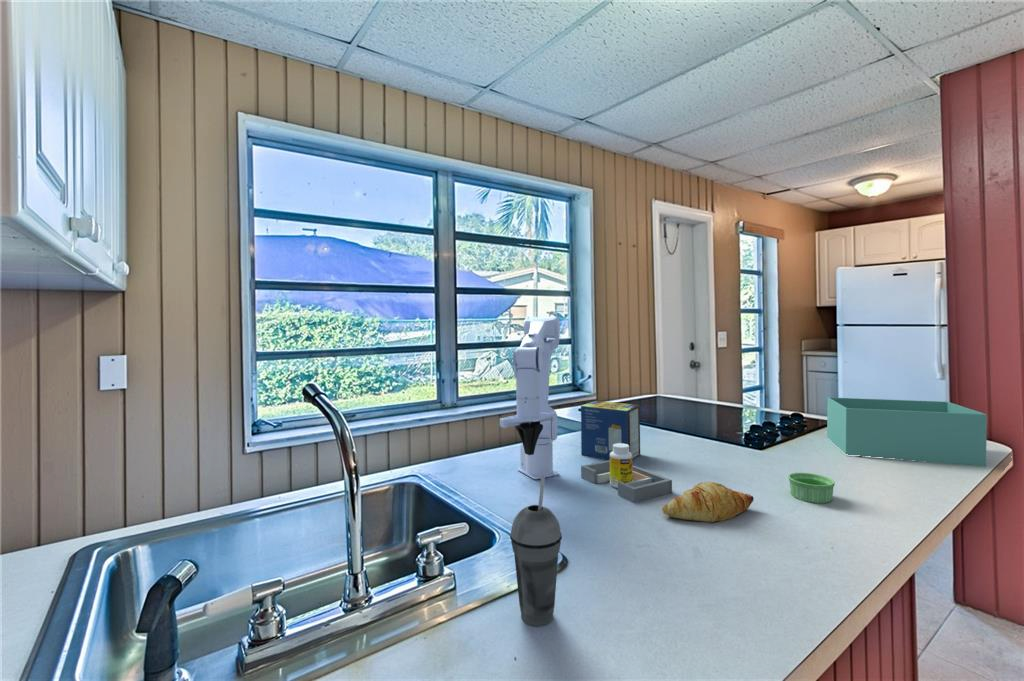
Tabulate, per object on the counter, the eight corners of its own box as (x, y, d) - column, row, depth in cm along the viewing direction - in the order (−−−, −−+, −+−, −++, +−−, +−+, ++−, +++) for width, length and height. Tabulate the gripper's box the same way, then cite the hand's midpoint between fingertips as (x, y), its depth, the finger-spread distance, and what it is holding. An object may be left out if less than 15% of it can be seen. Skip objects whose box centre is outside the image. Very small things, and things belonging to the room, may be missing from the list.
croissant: (670, 541, 93) (680, 514, 89) (648, 501, 102) (656, 476, 98) (760, 527, 98) (773, 501, 94) (731, 490, 106) (742, 465, 102)
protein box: (595, 447, 151) (594, 400, 150) (640, 454, 142) (640, 404, 141) (580, 455, 143) (579, 405, 142) (628, 463, 134) (627, 410, 133)
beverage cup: (509, 602, 68) (506, 468, 67) (557, 598, 69) (556, 466, 68) (513, 635, 61) (511, 486, 60) (568, 631, 62) (566, 483, 61)
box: (986, 467, 125) (987, 414, 124) (845, 456, 137) (846, 408, 136) (947, 447, 144) (948, 401, 144) (827, 439, 156) (827, 397, 155)
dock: (581, 476, 122) (581, 465, 122) (616, 469, 128) (616, 458, 128) (633, 502, 105) (633, 489, 105) (672, 492, 110) (671, 480, 110)
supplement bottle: (620, 491, 112) (619, 449, 111) (605, 484, 117) (604, 444, 116) (637, 486, 114) (637, 446, 114) (622, 480, 119) (621, 441, 119)
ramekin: (825, 492, 109) (825, 473, 109) (841, 506, 101) (841, 487, 100) (783, 489, 112) (783, 471, 111) (795, 503, 103) (795, 483, 103)
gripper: (509, 402, 103) (510, 462, 103) (563, 396, 109) (564, 453, 110) (495, 398, 109) (496, 455, 109) (547, 392, 116) (548, 446, 116)
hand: (529, 453), depth 110 cm, fingers closed
